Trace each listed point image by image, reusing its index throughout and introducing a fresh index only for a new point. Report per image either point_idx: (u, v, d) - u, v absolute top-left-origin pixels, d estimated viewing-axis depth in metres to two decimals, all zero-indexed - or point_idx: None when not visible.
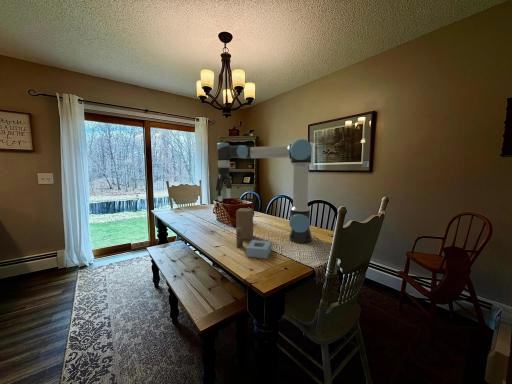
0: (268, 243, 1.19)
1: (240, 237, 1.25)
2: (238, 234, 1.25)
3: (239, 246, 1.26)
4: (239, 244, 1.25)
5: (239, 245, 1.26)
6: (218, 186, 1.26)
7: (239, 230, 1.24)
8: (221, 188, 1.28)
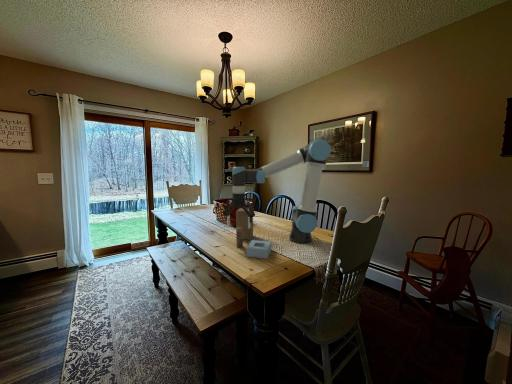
0: (268, 243, 1.19)
1: (240, 237, 1.25)
2: (238, 234, 1.25)
3: (239, 246, 1.26)
4: (239, 244, 1.25)
5: (239, 245, 1.26)
6: None
7: (239, 230, 1.24)
8: (227, 213, 1.26)
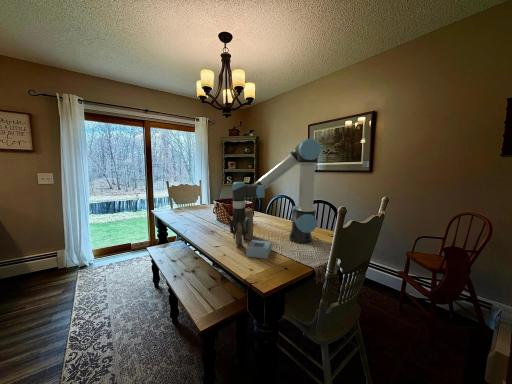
0: (268, 243, 1.19)
1: (240, 237, 1.25)
2: (238, 234, 1.25)
3: (239, 246, 1.26)
4: (239, 244, 1.25)
5: (239, 245, 1.26)
6: None
7: (239, 230, 1.24)
8: (234, 231, 1.26)
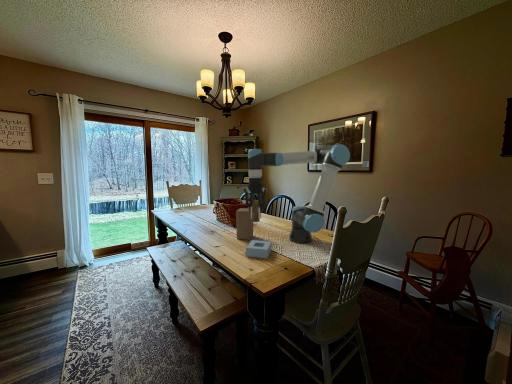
0: (268, 243, 1.19)
1: (256, 210, 1.15)
2: (254, 207, 1.15)
3: (255, 220, 1.16)
4: (255, 218, 1.15)
5: (255, 219, 1.15)
6: None
7: (255, 202, 1.14)
8: (250, 203, 1.16)
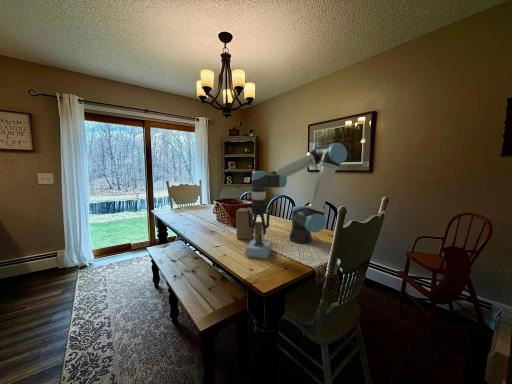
0: (268, 243, 1.19)
1: (260, 232, 1.15)
2: (258, 229, 1.15)
3: (258, 242, 1.16)
4: (259, 240, 1.15)
5: (259, 241, 1.15)
6: None
7: (259, 225, 1.14)
8: (253, 225, 1.16)
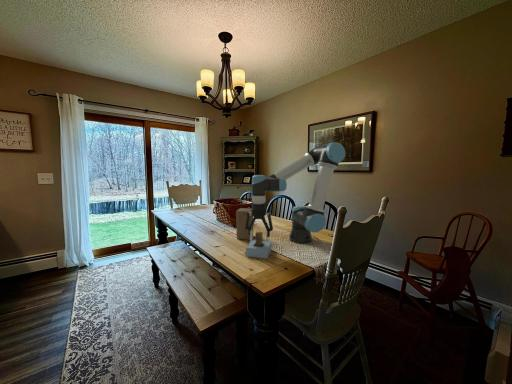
0: (268, 243, 1.19)
1: (260, 243, 1.16)
2: (258, 239, 1.15)
3: None
4: None
5: None
6: None
7: (259, 235, 1.15)
8: (249, 227, 1.17)
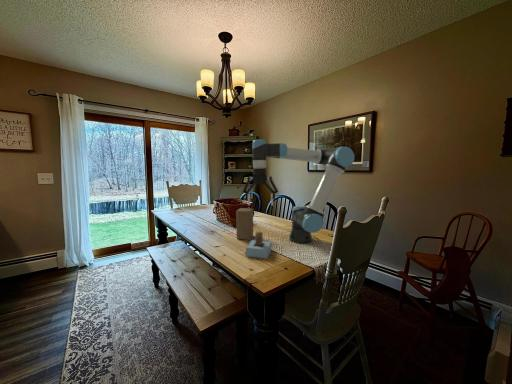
0: (268, 243, 1.19)
1: (260, 243, 1.16)
2: (258, 239, 1.15)
3: None
4: None
5: None
6: None
7: (259, 235, 1.15)
8: (247, 191, 1.17)
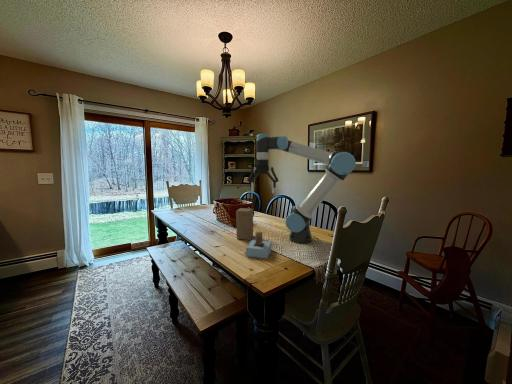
0: (268, 243, 1.19)
1: (260, 243, 1.16)
2: (258, 239, 1.15)
3: None
4: None
5: None
6: None
7: (259, 235, 1.15)
8: (251, 180, 1.32)
